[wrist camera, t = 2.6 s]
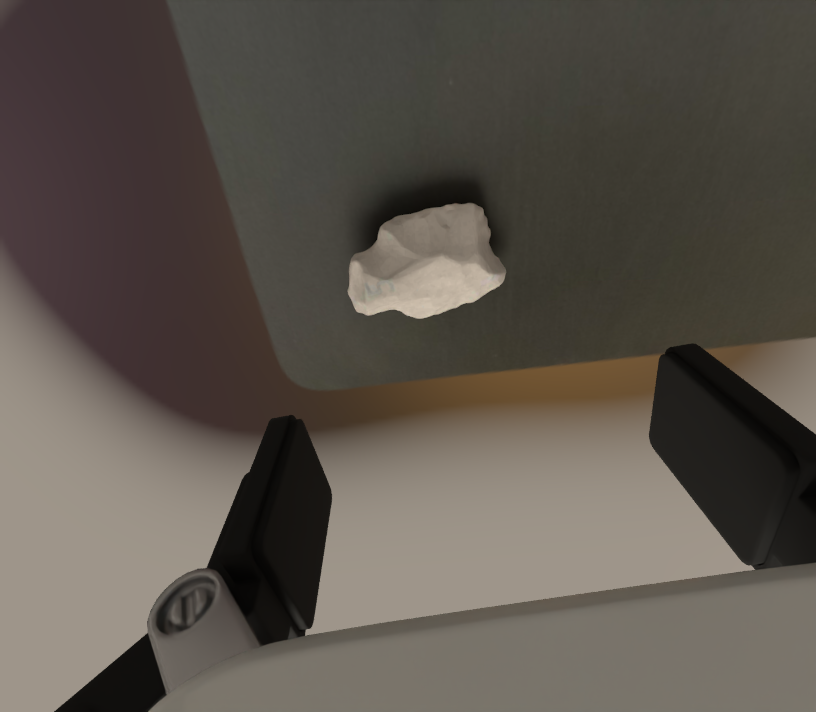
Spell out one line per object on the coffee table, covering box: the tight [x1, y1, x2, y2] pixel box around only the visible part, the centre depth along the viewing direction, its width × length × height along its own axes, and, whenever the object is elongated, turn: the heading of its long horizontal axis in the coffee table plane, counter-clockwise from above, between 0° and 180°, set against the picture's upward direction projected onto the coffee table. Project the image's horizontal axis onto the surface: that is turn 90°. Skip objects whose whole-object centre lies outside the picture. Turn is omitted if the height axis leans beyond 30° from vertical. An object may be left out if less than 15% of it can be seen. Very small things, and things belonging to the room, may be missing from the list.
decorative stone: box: [348, 203, 506, 318], centre depth 22 cm, size 9×6×3 cm, turn 100°
